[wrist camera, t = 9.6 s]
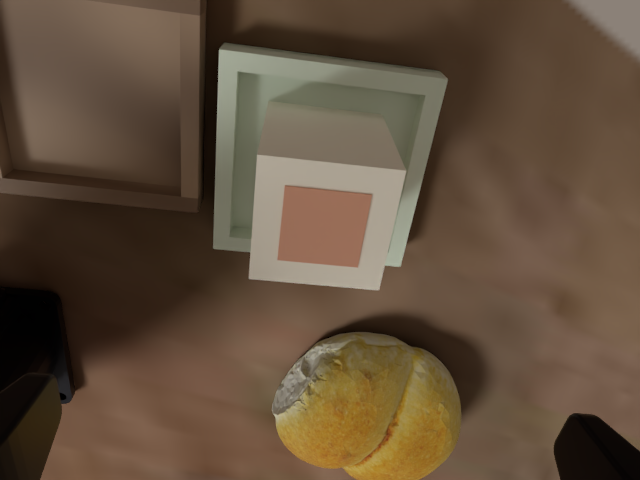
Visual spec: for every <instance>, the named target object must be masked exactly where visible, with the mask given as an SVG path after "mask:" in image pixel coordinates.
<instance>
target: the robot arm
mask: <svg viewBox="0 0 640 480" xmlns="http://www.w3.org/2000/svg"><path fill="white" fill-rule="evenodd" d="M43 301H46V302H48V303H49V304H50V305H48V304H46V303H44V302H43ZM74 394H75V388H74V382H73V375H72V369H71V363H70V356H69V350H68V344H67V337H66V331H65V325H64V318H63V312H62V306H61V300H60V298H59V297H58V296H57V295H56V294H55V293H53V292H50V291H44V290H33V289H21V288H10V287H0V480H40V478H41V475H42V472H43V469H44V467H45V464H46V461H47V458H48V455H49V452H50V449H51V446H52V443H53V440H54V438H55V435H56V432H57V429H58V426H59V423H60V419H61V414H62V406H61V404H66V403H69V402H70V401H71V400H72V398H73V396H74ZM554 456H555V460H556V464H557V468H558V472H559V476H560V480H640V451H639V450H638V449H636V448H635V447H634V446H633V445H632V444H630V443H629V442H628V441H627V440H626V439H624V438H623V437H622V436H621V435H620V434H618V433H617V432H616V431H615V430H614V429H612V428H611V427H610V426H609V425H608V424H606V423H605V422H604V421H603V420H602V419H600V418H599V417H597V416H595V415H592V414H580V413H574V414H572V415H570V416H569V417H568V419H567V421H566V422H565V424H564V426H563V428H562V430H561V431H560V433H559V435H558V437H557V439H556V441H555V444H554Z"/></svg>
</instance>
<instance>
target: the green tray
mask: <svg viewBox="0 0 640 480" xmlns="http://www.w3.org/2000/svg"><path fill="white" fill-rule="evenodd" d="M447 82H448V79H447V78H446V77H445V76H444V75H443V74H442V73H441V72H440V71H437V70H429V69H422V68H414V67H407V66H399V65H392V64H384V63H377V62H369V61H361V60H354V59H346V58H339V57H331V56H324V55H316V54H309V53H301V52H294V51H286V50H278V49H271V48H263V47H256V46H248V45H241V44H233V43H226V42H224V43H223V45H222V46H221V47H220V49H219V66H218V100H217V133H216V167H215V200H214V233H213V249H219V250H230V251H240V252H251V237H252V223H253V208H254V193H255V178H256V164H257V153H258V148H259V143H260V139H261V134H262V129H263V125H264V120H265V115H266V110H267V106H268V101H273V102H282V103H290V104H298V105H307V106H315V107H324V108H332V109H341V110H349V111H358V112H366V113H375V114H382V115H383V118H384V120H385V122H386V125H387V127H388V129H389V132H390V134H391V136H392V138H393V141H394V143H395V145H396V148H397V150H398V152H399V155H400V157H401V159H402V162H403V164H404V166H405V169H406V175H405V179H404V183H403V188H402V192H401V197H400V201H399V205H398V210H397V214H396V218H395V223H394V227H393V231H392V236H391V240H390V245H389V249H388V253H387V258H386V262H385V265H386V266H396V267H400V266H401V263H402V259H403V255H404V251H405V247H406V243H407V239H408V235H409V231H410V227H411V223H412V219H413V215H414V211H415V208H416V204H417V200H418V196H419V192H420V188H421V184H422V180H423V176H424V172H425V168H426V164H427V160H428V156H429V153H430V149H431V145H432V141H433V137H434V133H435V129H436V125H437V121H438V117H439V113H440V109H441V105H442V101H443V98H444V94H445V90H446V86H447Z"/></svg>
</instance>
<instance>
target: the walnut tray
mask: <svg viewBox="0 0 640 480" xmlns="http://www.w3.org/2000/svg"><path fill="white" fill-rule="evenodd" d="M206 7H207V0H0V193H6V194H16V195H26V196H35V197H45V198H55V199H65V200H74V201H84V202H94V203H104V204H114V205H123V206H133V207H143V208H153V209H162V210H172V211H182V212H192V213H198V211H199V208H200V206H201V203H202V200H203V180H204V122H205V65H206Z"/></svg>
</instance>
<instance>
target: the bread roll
mask: <svg viewBox="0 0 640 480" xmlns="http://www.w3.org/2000/svg"><path fill="white" fill-rule="evenodd" d="M272 413H273V414H274V416H275V417H276V428H277V431H278V434H279V436H280V438H281V440H282V441H283V443H284V444H285V446H286V447H287V448H288V449H289V450H290V451H291V452H292V453H293V454H294V455H296V456H297V457H298V458H300V459H301V460H303V461H305V462H308V463H310V464H313V465H315V466H319V467H323V468H331V469H333V468H341V467H343V469H344V470H345V471H346V472H347V473H348V474H349V475H350V476H352V477H353V478H355V479H357V480H419V479H421V478H423V477H425V476H426V475H428V474H429V473H431V472H432V471H434V470H435V469H436V468H437V467H438V466H439V465H441V464H442V463H443V462H444V461H445V460H446V459H447V458H448V456H449V455H450V454H451V452H452V451H453V450H454V447H455V445H456V443H457V441H458V437H459V433H460V426H461V404H460V398H459V394H458V391H457V388H456V385H455V383H454V381H453V378H452V377H451V375H450V372H449V371H448V370H447V369H446V367H445V366H444V365H443V364H442V362H441V361H440V360H439V359H438V358H436V357H435V356H434V355H433V354H431V353H430V352H428V351H426V350H424V349H422V348H418V347H411V346H409V345H407V344H406V343H404V342H402V341H400V340H399V339H397V338H395V337H392V336H389V335H385V334H376V333H370V332H350V333H343V334H338V335H335V336H333V337H330V338H327V339H324V340H322V341H320V342H317V343H316V344H315V345H314V346H313V347H312V348H311V349H310V350H309V351H308V352H307V353H306V354H305V355H304V356H302V357H301V358H299V359H298V361H297V362H296V363H295V364H294V366H293V367H292V368H291V369H290V371H289V372H288V374H287V375H286V377H285V378H284V379H283V381H282V383H281V385H280V386H279V388H278V389H277V392H276V394H275V399H274V401H273V404H272Z"/></svg>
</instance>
